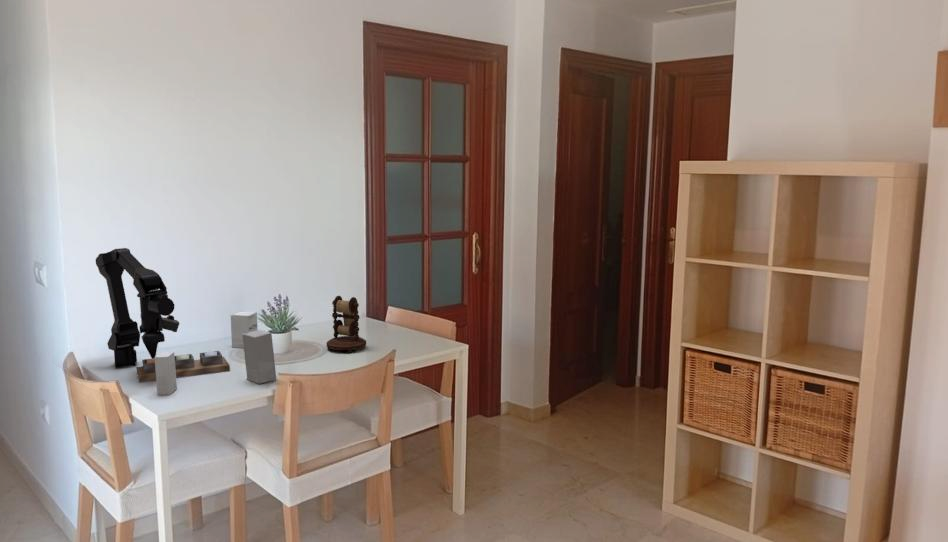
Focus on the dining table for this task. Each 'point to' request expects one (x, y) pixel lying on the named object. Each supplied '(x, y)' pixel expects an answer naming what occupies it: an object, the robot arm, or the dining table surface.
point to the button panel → (187, 367)
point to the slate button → (210, 354)
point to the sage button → (182, 357)
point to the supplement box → (242, 326)
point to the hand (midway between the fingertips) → (153, 358)
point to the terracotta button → (151, 360)
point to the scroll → (346, 326)
